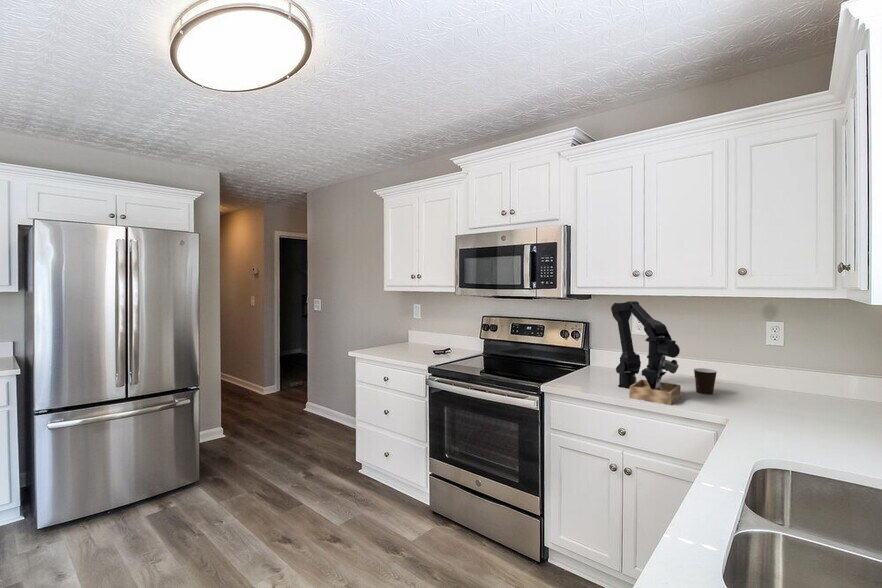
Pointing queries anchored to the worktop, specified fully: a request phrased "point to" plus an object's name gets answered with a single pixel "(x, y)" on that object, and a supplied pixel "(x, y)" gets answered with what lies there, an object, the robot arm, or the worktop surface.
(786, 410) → the worktop surface
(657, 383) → the peg
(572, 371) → the worktop surface
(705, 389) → the coffee mug
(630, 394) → the tray
